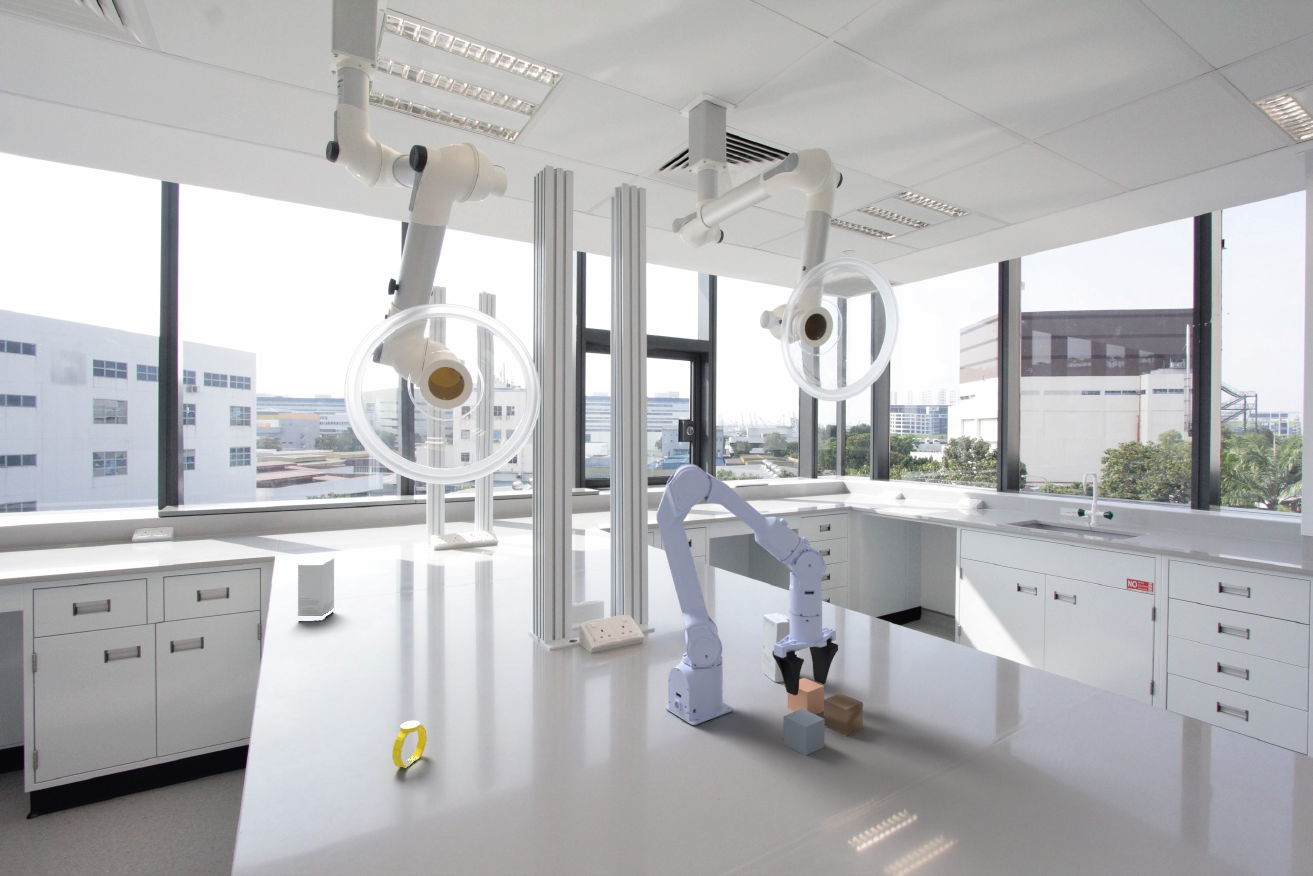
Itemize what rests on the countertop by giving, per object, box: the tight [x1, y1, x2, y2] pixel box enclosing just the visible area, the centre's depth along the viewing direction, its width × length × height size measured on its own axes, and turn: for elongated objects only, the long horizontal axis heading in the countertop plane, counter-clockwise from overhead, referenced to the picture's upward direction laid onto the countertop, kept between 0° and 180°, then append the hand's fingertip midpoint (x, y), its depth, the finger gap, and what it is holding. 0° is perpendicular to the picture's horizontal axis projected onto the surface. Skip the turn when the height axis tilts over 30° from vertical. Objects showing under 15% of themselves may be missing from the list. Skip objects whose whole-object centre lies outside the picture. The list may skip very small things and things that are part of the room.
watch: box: [391, 720, 428, 769], centre depth 91 cm, size 6×3×6 cm, turn 163°
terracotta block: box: [787, 677, 825, 715], centre depth 108 cm, size 4×4×4 cm
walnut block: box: [823, 692, 864, 737], centre depth 101 cm, size 4×4×4 cm
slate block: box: [783, 709, 826, 756], centre depth 95 cm, size 4×4×4 cm
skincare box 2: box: [761, 612, 790, 683], centre depth 122 cm, size 6×4×12 cm
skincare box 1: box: [297, 557, 335, 617], centre depth 163 cm, size 8×7×16 cm
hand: (806, 687), depth 108 cm, fingers open, 7 cm apart
